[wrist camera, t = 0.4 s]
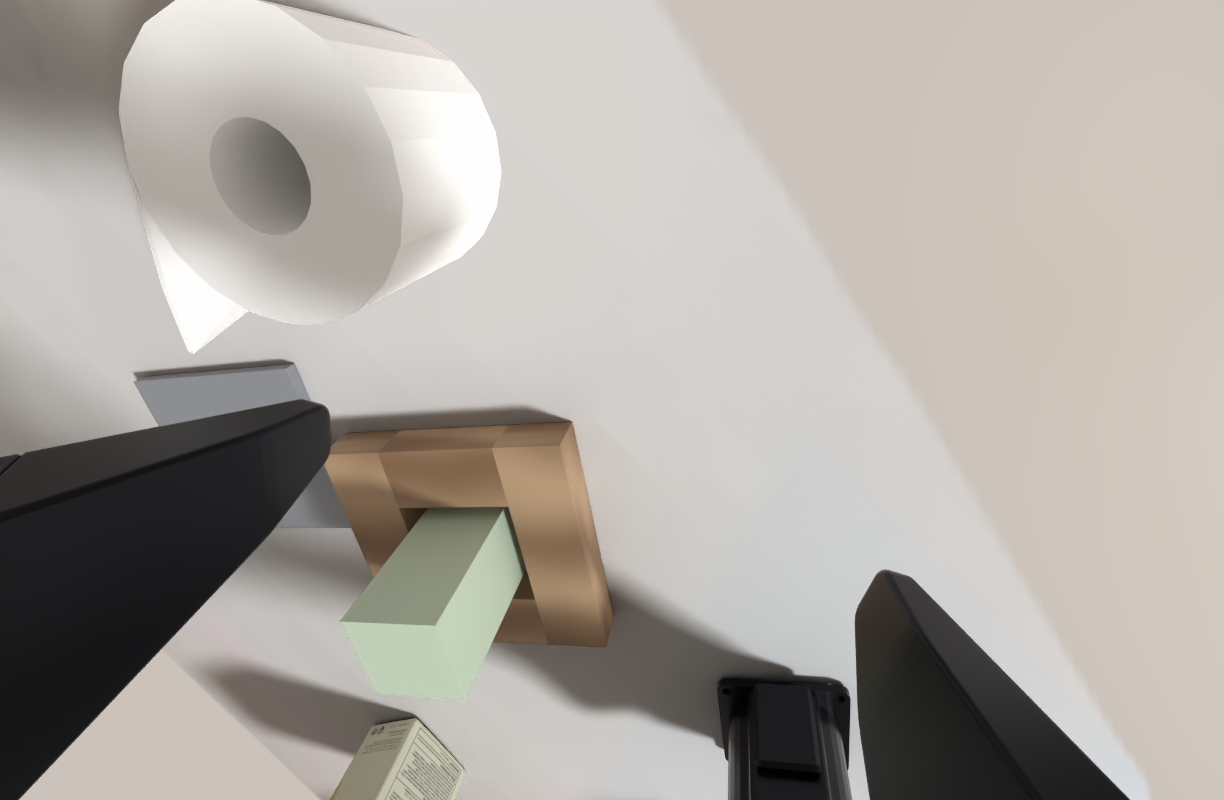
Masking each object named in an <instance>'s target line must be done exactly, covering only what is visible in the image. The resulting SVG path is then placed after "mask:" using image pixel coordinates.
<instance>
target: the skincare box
mask: <svg viewBox="0 0 1224 800" xmlns="http://www.w3.org/2000/svg"><path fill="white" fill-rule="evenodd" d="M465 773H466V771H465V770H464V769H463V767H462V766H461V765H460V764H459V763H458V762H457V761H456V760H455V759H454V757H453V756H452V755H451V754H450V753H449V752H448V751H447V750H446V749H445V748H444V747H443V746H442V745H441V743H440V742H439V741H438V740H437V739H436V738H435V737H434V736H433V735H432V734H431V733H430V732H429V731H428V730H427V729H426V728H425V727H424V726H423V725H422V723H421V722H420V721H419V720H418V719H416V718H414V719H407V720H401V721H395V722H389V723H384V724H379V725H375V726H372V727H371V728H370V730H369V732H368V734H367V736H366V737H365V739H364V741H363V743H362V744H361V746H360V748H359V749H358V751H357V753H356V755H355V757H354V758H353V760H352V762H351V764H350V765H349V767H348V769H347V771H346V772H345V774H344V776H343V778H342V780H341V781H340V783H339V785H338V787H337V788H336V790H335V792H334V794H333V796H332V797H331V799H330V800H455V799H456V797H457V794H458V791H459V789H460V786H461V784H462V781H463V779H464V776H465Z"/></svg>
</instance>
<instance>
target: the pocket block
mask: <svg viewBox="0 0 1224 800" xmlns="http://www.w3.org/2000/svg"><path fill="white" fill-rule="evenodd" d="M324 466H325V468H326V470H327V472H328V475H329V477H330V479H331V481H332V484H333V486H334V488H335V491H336V493H337V495H338V497H339V500H340V502H341V504H342V507H343V509H344V511H345V513H346V516H347V518H348V520H349V523H350V525H351V527H352V529H353V532H354V534H355V536H356V538H357V541H358V543H359V545H360V548H361V550H362V552H363V554H364V557H365V559H366V561H367V564H368V566H369V568H370V570H371V573H372V575H373V577H375V576H376V574H377V573H378V572H379V570H380V569H381V568H382V567H383V565H384V564H385V563H386V561H387V560H388V559H389V558H390V556H391V555H392V554H393V552H394V551H395V550H396V549H397V547H398V546H399V545H400V543H401V542H402V541H403V540H404V538H405V537H406V536H407V534H408V533H409V532H410V531H411V529H412V528H413V527H414V525H415V524H416V523H417V522H418V520H419V519H420V518H421V516H422V515H423V514H424V513H425V511H426V510H427V509H428V508H441V507H509V510H510V514H511V517H512V521H513V524H514V528H515V531H516V535H517V538H518V541H519V545H520V548H521V552H522V555H523V559H524V562H525V566H526V569H527V570H525V572H524V574H523V576H522V579H521V581H520V583H519V585H518V587H517V590H516V592H515V594H514V596H513V598H512V600H511V603H510V605H509V607H508V609H507V611H506V613H505V616H504V618H503V620H502V622H501V624H500V626H499V629H498V631H497V633H496V635H495V637H494V639H493V642H510V643H529V644H549V645H569V646H589V647H606V644H607V640H608V636H609V632H610V628H611V624H612V620H613V616H614V615H613V611H612V606H611V601H610V597H609V592H608V587H607V583H606V578H605V573H604V568H603V564H602V559H601V554H600V550H599V545H598V540H597V536H596V531H595V526H594V522H593V517H592V512H591V508H590V503H589V498H588V494H587V489H586V484H585V479H584V475H583V470H582V465H581V461H580V456H579V451H578V447H577V442H576V437H575V433H574V428H573V423H572V422H557V423H537V424H517V425H497V426H478V427H458V428H438V429H418V430H398V431H378V432H358V433H346V434H345V435H343V436H342V437H341V438H340V439H339V440H337V441H336V442H335V443H334V444H333V445H331V450H330V454H329V457H328V459H327V461H326V462H325V464H324Z"/></svg>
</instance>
